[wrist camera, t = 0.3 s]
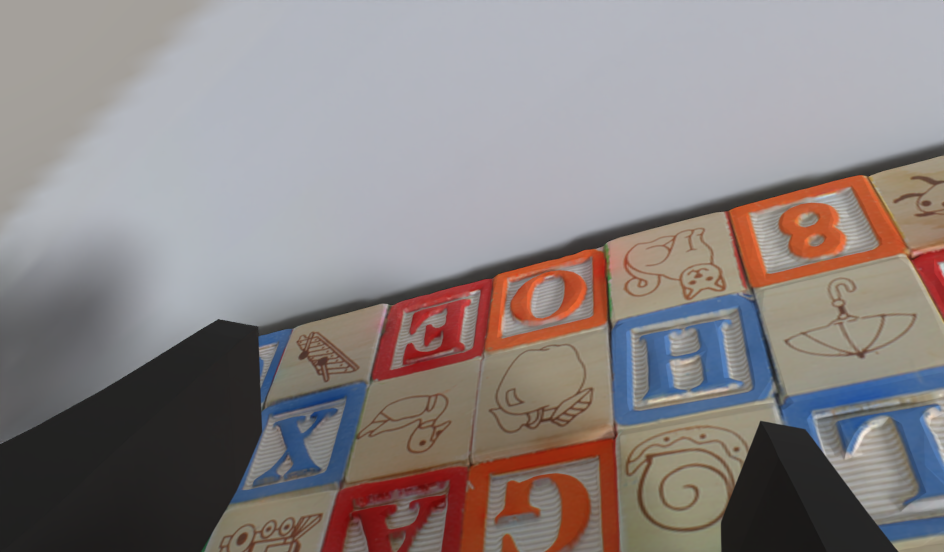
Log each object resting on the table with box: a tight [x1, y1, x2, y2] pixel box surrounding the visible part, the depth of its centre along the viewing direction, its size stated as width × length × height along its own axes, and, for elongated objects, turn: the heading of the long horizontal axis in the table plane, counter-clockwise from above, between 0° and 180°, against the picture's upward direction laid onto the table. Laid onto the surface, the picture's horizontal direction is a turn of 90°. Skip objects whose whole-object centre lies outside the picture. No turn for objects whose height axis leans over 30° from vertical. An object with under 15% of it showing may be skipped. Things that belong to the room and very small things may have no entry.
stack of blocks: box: [201, 156, 944, 552], centre depth 17 cm, size 21×6×12 cm, turn 112°
